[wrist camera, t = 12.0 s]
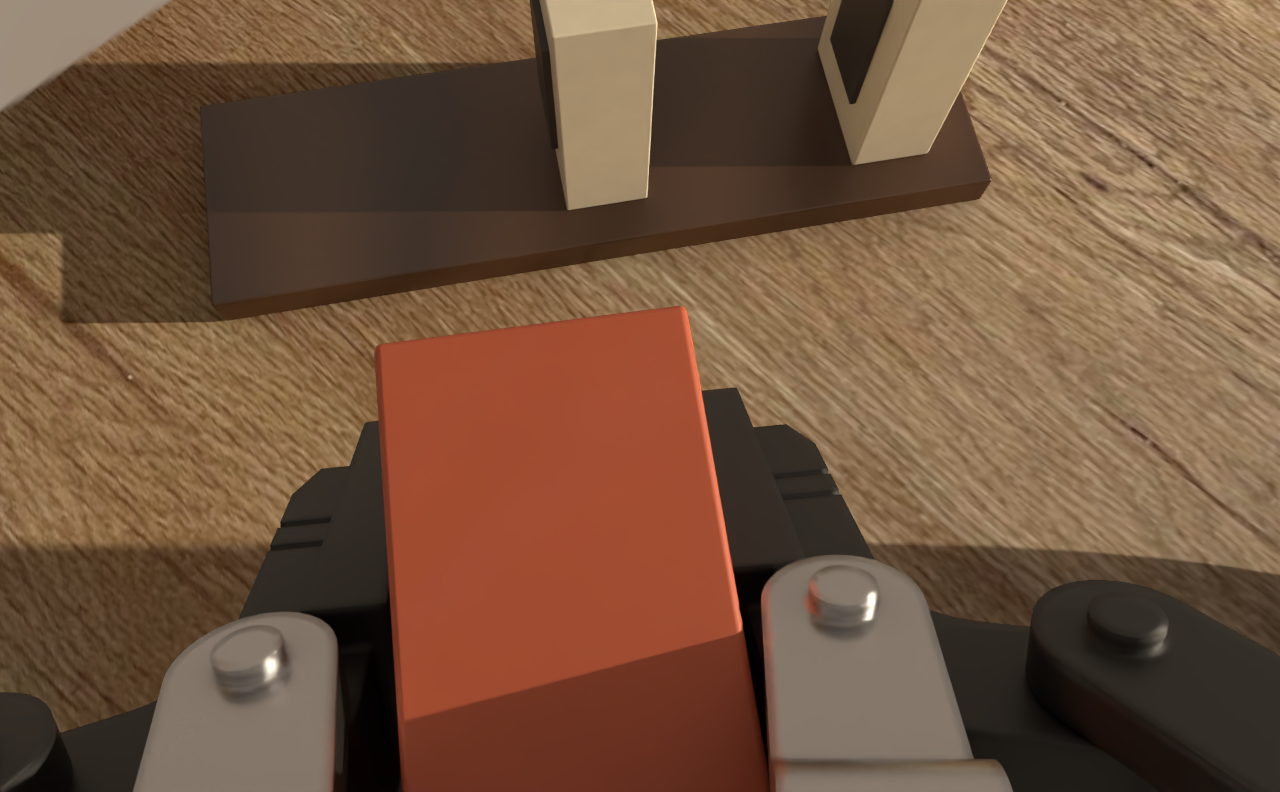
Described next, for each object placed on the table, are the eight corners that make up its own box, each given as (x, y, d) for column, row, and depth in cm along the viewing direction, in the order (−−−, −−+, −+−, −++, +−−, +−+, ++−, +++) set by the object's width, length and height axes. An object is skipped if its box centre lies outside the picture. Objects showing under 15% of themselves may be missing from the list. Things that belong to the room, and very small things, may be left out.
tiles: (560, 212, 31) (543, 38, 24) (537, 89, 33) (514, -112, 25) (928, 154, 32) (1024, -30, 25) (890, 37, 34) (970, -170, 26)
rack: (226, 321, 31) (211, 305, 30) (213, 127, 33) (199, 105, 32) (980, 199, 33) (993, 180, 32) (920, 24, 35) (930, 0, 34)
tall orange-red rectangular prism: (511, 868, 14) (380, 994, 6) (481, 547, 16) (347, 344, 8) (705, 837, 14) (796, 923, 7) (656, 522, 16) (686, 302, 8)
